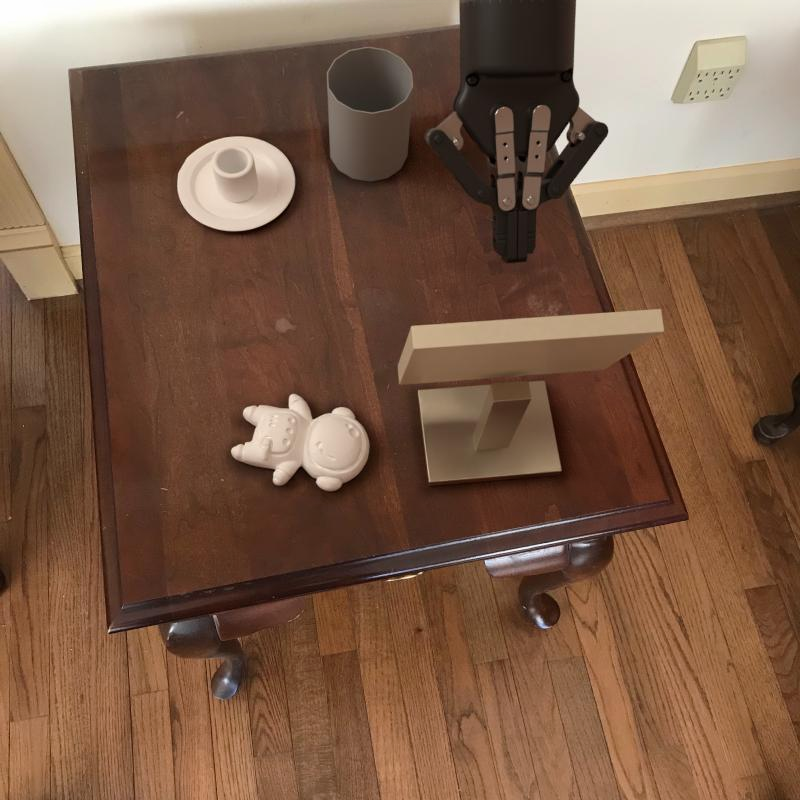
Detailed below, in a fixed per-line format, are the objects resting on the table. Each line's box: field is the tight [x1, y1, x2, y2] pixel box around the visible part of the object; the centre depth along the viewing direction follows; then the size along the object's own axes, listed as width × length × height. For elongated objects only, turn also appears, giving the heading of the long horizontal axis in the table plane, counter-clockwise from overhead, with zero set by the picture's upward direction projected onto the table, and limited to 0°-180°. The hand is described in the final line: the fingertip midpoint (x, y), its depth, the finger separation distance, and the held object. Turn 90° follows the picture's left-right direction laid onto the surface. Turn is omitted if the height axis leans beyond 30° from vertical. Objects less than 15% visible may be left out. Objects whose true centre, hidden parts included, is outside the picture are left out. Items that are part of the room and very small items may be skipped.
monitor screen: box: [397, 308, 665, 386], centre depth 62 cm, size 2×17×13 cm, turn 96°
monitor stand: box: [416, 380, 563, 487], centre depth 71 cm, size 9×12×12 cm
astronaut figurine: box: [230, 393, 370, 492], centre depth 74 cm, size 9×12×3 cm
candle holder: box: [176, 135, 296, 232], centre depth 85 cm, size 12×12×4 cm
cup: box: [326, 46, 414, 183], centre depth 85 cm, size 8×8×10 cm
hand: (514, 260), depth 60 cm, fingers closed
